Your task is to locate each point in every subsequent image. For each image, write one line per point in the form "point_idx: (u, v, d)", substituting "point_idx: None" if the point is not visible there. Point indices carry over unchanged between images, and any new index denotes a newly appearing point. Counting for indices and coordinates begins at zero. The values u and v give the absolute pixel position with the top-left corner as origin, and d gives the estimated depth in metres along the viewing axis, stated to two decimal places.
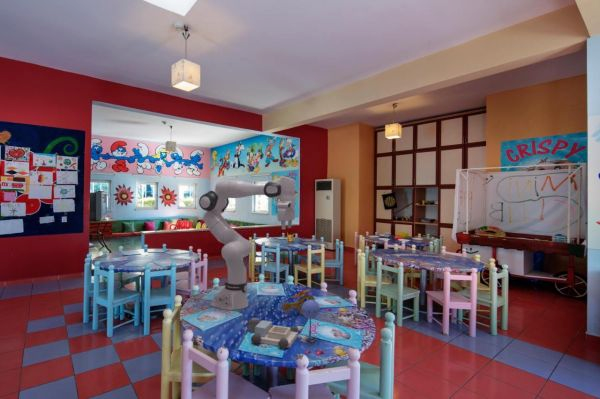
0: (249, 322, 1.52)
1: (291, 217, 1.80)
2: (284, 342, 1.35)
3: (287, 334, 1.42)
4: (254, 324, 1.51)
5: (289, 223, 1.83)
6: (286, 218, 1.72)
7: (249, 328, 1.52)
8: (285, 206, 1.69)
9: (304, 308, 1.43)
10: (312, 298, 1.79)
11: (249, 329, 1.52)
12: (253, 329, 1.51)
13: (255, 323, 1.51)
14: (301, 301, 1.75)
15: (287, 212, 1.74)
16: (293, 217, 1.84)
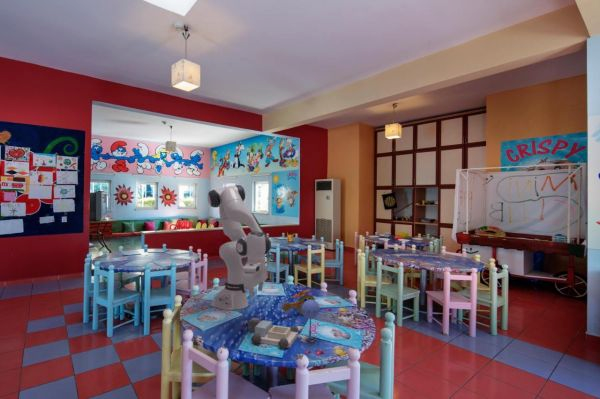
0: (249, 322, 1.52)
1: (262, 279, 1.56)
2: (284, 342, 1.35)
3: (287, 334, 1.42)
4: (254, 324, 1.51)
5: (260, 285, 1.59)
6: (254, 283, 1.48)
7: (249, 328, 1.52)
8: (252, 271, 1.45)
9: (304, 308, 1.43)
10: (312, 298, 1.79)
11: (249, 329, 1.52)
12: (253, 329, 1.51)
13: (255, 323, 1.51)
14: (301, 301, 1.75)
15: (256, 276, 1.50)
16: (264, 278, 1.59)
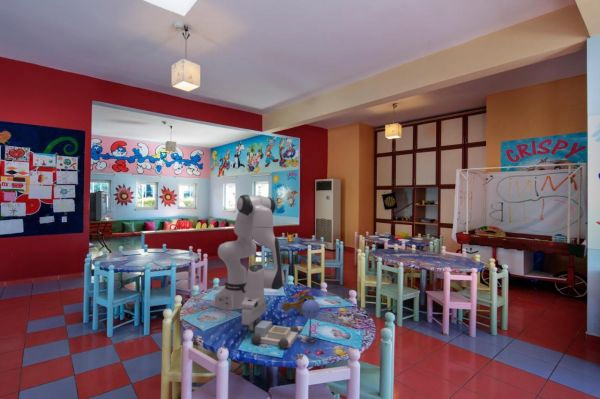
0: None
1: (260, 313, 1.56)
2: (284, 342, 1.35)
3: (287, 334, 1.42)
4: (254, 324, 1.51)
5: None
6: (253, 319, 1.47)
7: (249, 328, 1.52)
8: (251, 307, 1.45)
9: (304, 308, 1.43)
10: (312, 298, 1.79)
11: (249, 329, 1.52)
12: (253, 329, 1.51)
13: (255, 323, 1.51)
14: (301, 301, 1.75)
15: (254, 311, 1.50)
16: (263, 311, 1.59)
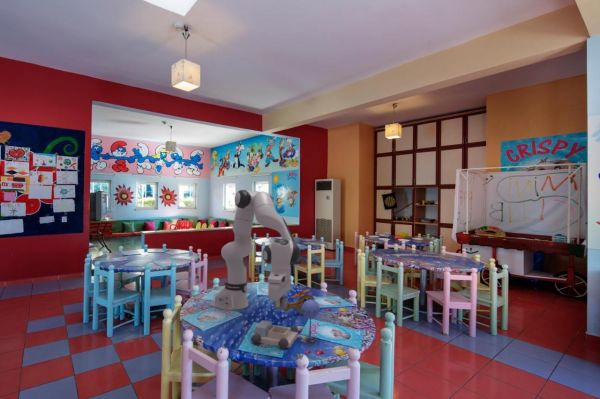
0: None
1: (286, 289, 1.46)
2: (284, 342, 1.35)
3: (287, 334, 1.42)
4: (280, 301, 1.42)
5: None
6: (279, 295, 1.38)
7: (275, 305, 1.43)
8: (278, 282, 1.35)
9: (304, 308, 1.43)
10: (312, 298, 1.79)
11: (275, 306, 1.43)
12: None
13: (282, 300, 1.42)
14: (301, 301, 1.75)
15: (281, 286, 1.40)
16: (288, 288, 1.50)
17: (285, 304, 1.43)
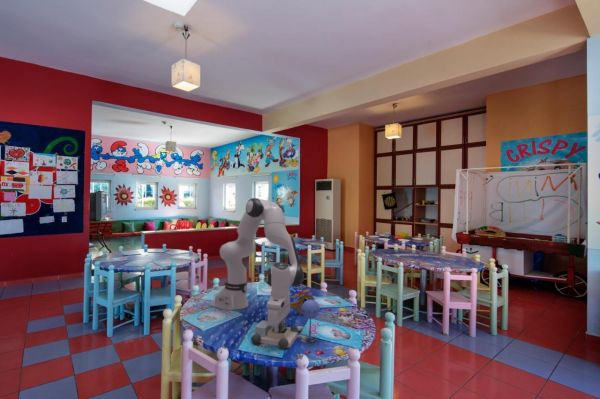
0: None
1: (285, 313, 1.46)
2: (284, 342, 1.35)
3: (287, 334, 1.42)
4: (280, 328, 1.42)
5: (282, 320, 1.48)
6: (279, 320, 1.38)
7: None
8: (277, 307, 1.35)
9: (304, 308, 1.43)
10: (312, 298, 1.79)
11: None
12: None
13: (281, 327, 1.42)
14: (300, 301, 1.75)
15: (280, 311, 1.40)
16: (288, 311, 1.50)
17: (284, 331, 1.44)
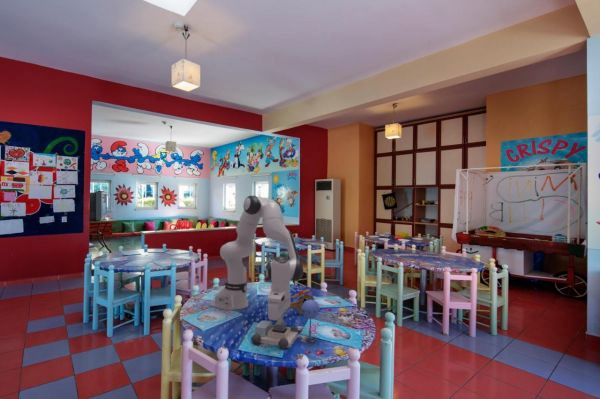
0: (274, 326, 1.43)
1: (286, 307, 1.46)
2: (284, 342, 1.35)
3: (287, 334, 1.42)
4: (280, 328, 1.42)
5: (280, 316, 1.45)
6: (279, 314, 1.38)
7: None
8: (278, 301, 1.35)
9: (304, 308, 1.43)
10: (312, 298, 1.79)
11: None
12: None
13: (281, 327, 1.42)
14: (300, 301, 1.75)
15: (280, 305, 1.40)
16: (288, 305, 1.50)
17: (284, 331, 1.44)
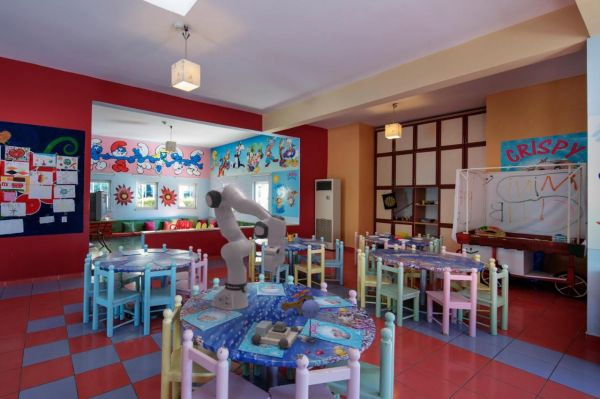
0: (274, 326, 1.43)
1: (280, 262, 1.60)
2: (284, 342, 1.35)
3: (287, 334, 1.42)
4: (280, 328, 1.42)
5: (275, 269, 1.59)
6: (274, 265, 1.51)
7: None
8: (273, 253, 1.48)
9: (304, 308, 1.43)
10: (312, 298, 1.79)
11: None
12: None
13: (281, 327, 1.42)
14: (300, 301, 1.76)
15: (275, 258, 1.54)
16: (282, 261, 1.63)
17: (284, 331, 1.44)
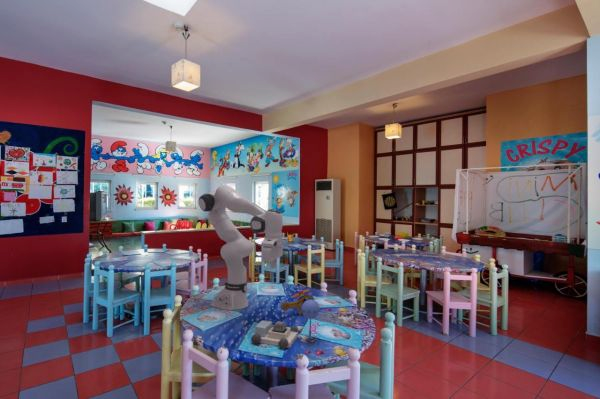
0: (274, 326, 1.43)
1: (278, 255, 1.64)
2: (284, 342, 1.35)
3: (287, 334, 1.42)
4: (280, 328, 1.42)
5: (273, 262, 1.62)
6: (272, 258, 1.55)
7: None
8: (270, 245, 1.52)
9: (304, 308, 1.43)
10: (311, 298, 1.79)
11: None
12: None
13: (281, 327, 1.42)
14: (300, 301, 1.76)
15: (273, 251, 1.57)
16: (280, 254, 1.67)
17: (284, 331, 1.44)
